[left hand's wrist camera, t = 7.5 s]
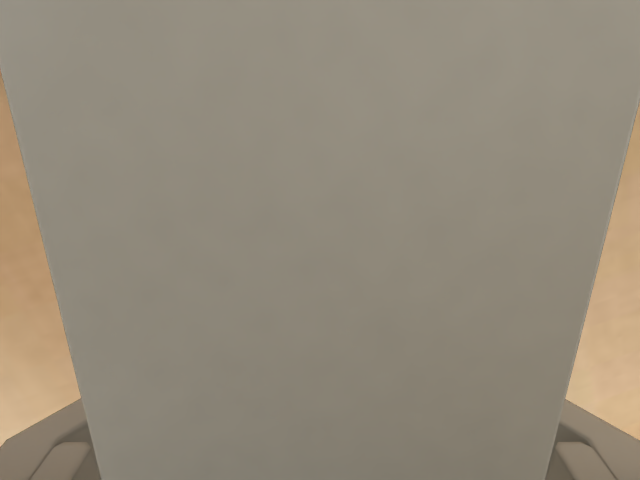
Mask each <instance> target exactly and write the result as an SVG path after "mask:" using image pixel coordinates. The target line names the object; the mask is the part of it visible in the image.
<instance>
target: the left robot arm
mask: <svg viewBox="0 0 640 480" xmlns="http://www.w3.org/2000/svg"><path fill="white" fill-rule="evenodd" d="M0 480H101V476H100V472H99V468H98V463H97V459H96V455H95V451H94V447H93V443H92V439H91V435H90V431H89V427H88V423H87V419H86V415H85V411H84V407H83V403H82V399H79V400H77V401H75V402H73V403H72V404H70V405H68V406H66V407H65V408H63V409H61V410H59V411H57V412H56V413H54V414H52V415H50V416H48V417H47V418H45V419H43V420H41V421H40V422H38V423H36V424H34V425H32V426H31V427H29V428H27V429H25V430H24V431H22V432H20V433H18V434H16V435H15V436H13V437H11V438H9V439H7V440H6V441H5V442H4V444H3V445H2V446H1V447H0ZM545 480H640V441H639V440H638V439H636V438H634V437H632V436H630V435H629V434H627V433H625V432H623V431H622V430H620V429H618V428H616V427H614V426H613V425H611V424H609V423H607V422H605V421H604V420H602V419H600V418H598V417H596V416H595V415H593V414H591V413H589V412H587V411H586V410H584V409H582V408H580V407H578V406H577V405H575V404H573V403H571V402H570V401H568V400H566V399H565V401H564V405H563V409H562V413H561V417H560V421H559V425H558V429H557V433H556V437H555V441H554V445H553V449H552V453H551V457H550V461H549V465H548V469H547V473H546V477H545Z"/></svg>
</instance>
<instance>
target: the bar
mask: <svg viewBox="0 0 640 480" xmlns="http://www.w3.org/2000/svg"><path fill="white" fill-rule="evenodd" d="M0 70H1V74H2V78H3V82H4V86H5V90H6V94H7V98H8V102H9V106H10V110H11V114H12V118H13V122H14V126H15V130H16V135H17V139H18V143H19V147H20V151H21V155H22V159H23V163H24V167H25V171H26V175H27V179H28V183H29V187H30V191H31V195H32V200H33V204H34V208H35V212H36V216H37V220H38V224H39V228H40V232H41V236H42V240H43V244H44V248H45V252H46V256H47V260H48V265H49V269H50V273H51V277H52V281H53V285H54V289H55V293H56V297H57V301H58V305H59V309H60V313H61V317H62V321H63V325H64V329H65V334H66V338H67V342H68V346H69V350H70V354H71V358H72V362H73V366H74V370H75V374H76V378H77V382H78V386H79V390H80V394H81V399H82V403H83V407H84V411H85V415H86V419H87V423H88V427H89V431H90V435H91V439H92V443H93V447H94V451H95V455H96V459H97V463H98V468H99V472H100V476H101V480H545V477H546V473H547V469H548V465H549V461H550V457H551V453H552V449H553V445H554V441H555V437H556V433H557V429H558V425H559V421H560V417H561V413H562V409H563V405H564V401H565V397H566V393H567V389H568V385H569V381H570V377H571V373H572V369H573V365H574V361H575V357H576V353H577V349H578V345H579V341H580V337H581V333H582V329H583V325H584V321H585V317H586V313H587V309H588V305H589V301H590V297H591V293H592V289H593V285H594V281H595V277H596V273H597V269H598V265H599V261H600V257H601V253H602V249H603V245H604V241H605V237H606V233H607V229H608V225H609V221H610V217H611V213H612V209H613V205H614V201H615V197H616V193H617V189H618V185H619V181H620V177H621V173H622V169H623V165H624V161H625V157H626V153H627V149H628V145H629V141H630V137H631V133H632V129H633V125H634V121H635V117H636V113H637V109H638V105H639V101H640V0H0Z"/></svg>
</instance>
